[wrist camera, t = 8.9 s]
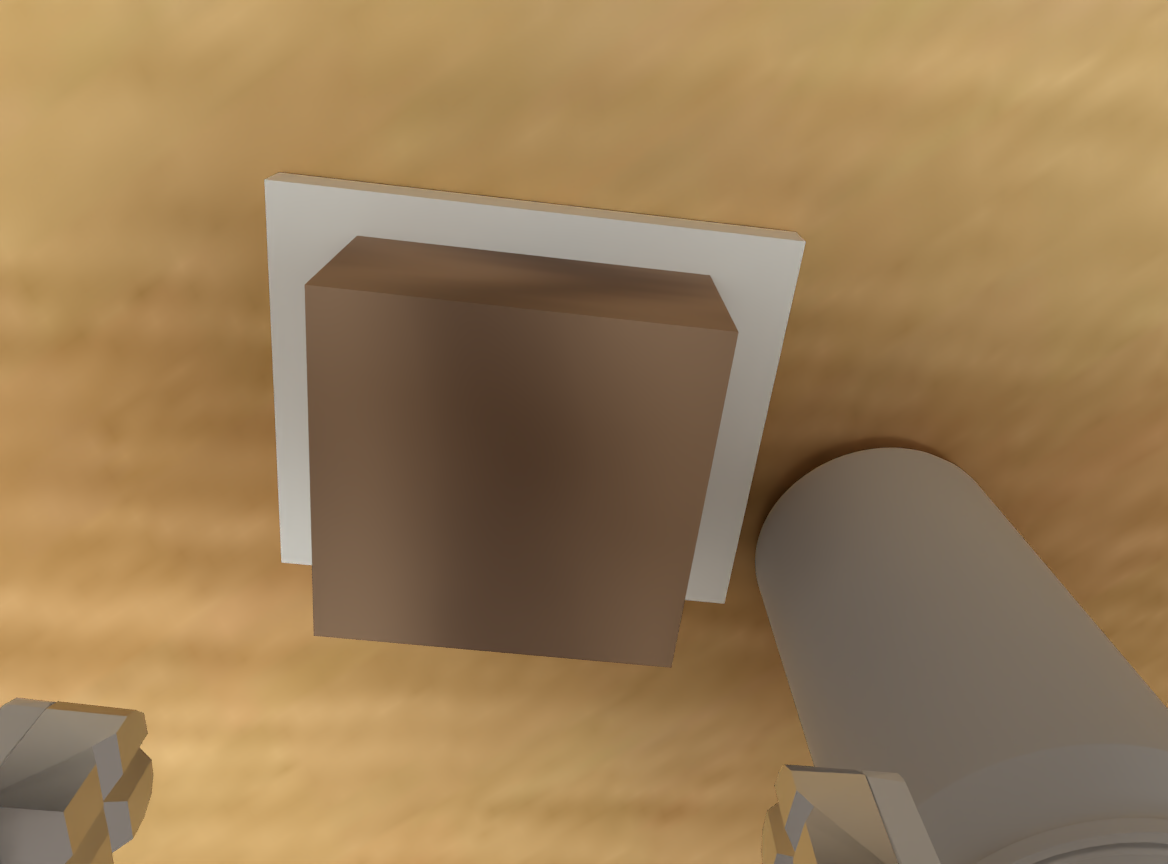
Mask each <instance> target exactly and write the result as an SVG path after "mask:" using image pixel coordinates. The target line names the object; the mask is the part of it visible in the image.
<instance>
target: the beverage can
mask: <svg viewBox="0 0 1168 864" xmlns="http://www.w3.org/2000/svg"><path fill="white" fill-rule="evenodd" d="M755 570H756V577H757V582H758V586H759V589H760V592H761V596H762V599H763V602H764V605H765V609H766V612H767V615H768V618H769V622H770V625H771V628H772V631H773V634H774V638H775V641H776V644H777V647H778V651H779V654H780V657H781V660H782V664H783V667H784V670H785V673H786V676H787V680H788V683H789V686H790V689H791V693H792V696H793V699H794V702H795V706H796V709H797V712H798V715H799V719H800V722H801V725H802V728H803V731H804V735H805V738H806V741H807V744H808V748H809V751H810V754H811V757H812V761H813V764H814V767H825V768H838V769H852V770H857V771H860V770H864V771H877V772H891V773H898V774H899V775H900V776H901V777H902V778H903V779H904V780H905V782H906V785H907V787H908V789H909V791H910V794H911V796H912V798H913V801H914V803H915V805H916V808H917V810H918V812H919V814H920V817H921V819H922V821H923V824H924V826H925V828H926V831H927V833H928V835H929V838H930V840H931V842H932V844H933V847H934V849H935V851H936V854H937V856H938V858H939V861H940V863H941V864H1168V709H1167V708H1166V706H1165V705H1164V704H1163V703H1162V702H1161V700H1160V699H1159V698H1158V697H1157V696H1156V694H1155V693H1154V692H1153V691H1152V690H1151V689H1150V687H1149V686H1148V685H1147V684H1146V683H1145V681H1144V680H1143V679H1142V678H1141V677H1140V676H1139V674H1138V673H1137V672H1136V671H1135V670H1134V668H1133V667H1132V666H1131V665H1130V664H1129V663H1128V661H1127V660H1126V659H1125V658H1124V657H1123V655H1122V654H1121V653H1120V652H1119V651H1118V650H1117V648H1116V647H1115V646H1114V645H1113V644H1112V642H1111V641H1110V640H1109V639H1108V638H1107V637H1106V635H1105V634H1104V633H1103V632H1102V631H1101V629H1100V628H1099V627H1098V626H1097V625H1096V624H1095V622H1094V621H1093V620H1092V619H1091V618H1090V616H1089V615H1088V614H1087V613H1086V612H1085V611H1084V609H1083V608H1082V607H1081V606H1080V605H1079V603H1078V602H1077V601H1076V600H1075V599H1074V598H1073V596H1072V595H1071V594H1070V593H1069V592H1068V590H1067V589H1066V588H1065V587H1064V586H1063V585H1062V583H1061V582H1060V581H1059V580H1058V579H1057V577H1056V576H1055V575H1054V574H1053V573H1052V572H1051V570H1050V569H1049V568H1048V567H1047V566H1046V564H1045V563H1044V562H1043V561H1042V560H1041V559H1040V557H1039V556H1038V555H1037V554H1036V553H1035V551H1034V550H1033V549H1032V548H1031V547H1030V546H1029V544H1028V543H1027V542H1026V541H1025V540H1024V538H1023V537H1022V536H1021V535H1020V534H1019V533H1018V531H1017V530H1016V529H1015V528H1014V527H1013V525H1012V524H1011V523H1010V522H1009V521H1008V520H1007V518H1006V517H1005V516H1004V515H1003V514H1002V512H1001V511H1000V510H999V509H998V508H997V507H996V505H995V504H994V503H993V502H992V501H991V499H990V498H989V497H988V496H987V495H986V494H985V492H984V491H983V490H982V489H981V488H980V486H979V485H978V484H977V483H976V482H975V481H974V480H973V479H972V478H971V477H970V476H969V475H968V474H967V473H966V472H964V471H963V470H962V469H961V468H959V467H958V466H956V465H955V464H953V463H951V462H949V461H946V460H944V459H942V458H939V457H937V456H935V455H932V454H929V453H927V452H923V451H919V450H913V449H906V448H875V449H868V450H862V451H857V452H853V453H850V454H847V455H844V456H841V457H838V458H835V459H833V460H831V461H828V462H826V463H824V464H822V465H820V466H819V467H817V468H815V469H813V470H812V471H810V472H809V473H807V474H806V475H805V476H803V477H802V478H800V479H799V480H798V481H797V482H795V483H794V484H793V485H792V486H791V487H790V488H789V489H788V490H787V491H786V492H785V493H784V494H783V495H782V496H781V497H780V499H779V500H778V501H777V502H776V504H775V505H774V507H773V508H772V509H771V511H770V513H769V514H768V516H767V518H766V520H765V522H764V524H763V526H762V529H761V531H760V535H759V538H758V542H757V546H756V554H755Z"/></svg>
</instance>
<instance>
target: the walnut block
mask: <svg viewBox="0 0 1168 864" xmlns="http://www.w3.org/2000/svg"><path fill="white" fill-rule="evenodd" d="M305 321H306V358H307V396H308V434H309V472H310V509H311V547H312V585H313V622H314V636H323V637H334V638H345V639H356V640H368V641H379V642H390V643H401V644H412V645H424V646H435V647H446V648H457V649H468V650H480V651H491V652H502V653H513V654H525V655H536V656H547V657H558V658H569V659H581V660H592V661H603V662H614V663H625V664H637V665H648V666H659V667H670V668H671V667H672V662H673V657H674V652H675V647H676V642H677V637H678V632H679V627H680V622H681V617H682V612H683V607H684V602H685V597H686V592H687V587H688V582H689V577H690V572H691V567H692V562H693V557H694V552H695V547H696V542H697V537H698V532H699V527H700V522H701V517H702V512H703V507H704V502H705V497H706V492H707V487H708V482H709V477H710V472H711V467H712V462H713V457H714V452H715V447H716V442H717V437H718V433H719V428H720V423H721V418H722V413H723V408H724V403H725V398H726V393H727V388H728V383H729V378H730V373H731V368H732V363H733V358H734V353H735V348H736V343H737V338H738V333H739V332H738V330H737V328H736V326H735V324H734V322H733V320H732V318H731V316H730V314H729V312H728V310H727V308H726V306H725V304H724V302H723V300H722V298H721V296H720V294H719V292H718V290H717V288H716V286H715V284H714V282H713V280H712V278H711V276H710V275H704V274H695V273H686V272H677V271H668V270H659V269H650V268H641V267H632V266H623V265H615V264H606V263H597V262H588V261H579V260H570V259H561V258H552V257H543V256H534V255H525V254H517V253H508V252H499V251H490V250H481V249H472V248H463V247H454V246H445V245H436V244H427V243H419V242H410V241H401V240H392V239H383V238H374V237H365V236H356V237H355V238H354V239H353V240H352V241H351V242H350V243H349V244H347V245H346V246H345V247H344V248H343V249H342V250H341V251H340V252H339V253H338V254H337V255H336V256H335V257H334V258H333V259H331V260H330V261H329V262H328V263H327V264H326V265H325V266H324V267H323V268H322V269H321V270H320V271H319V272H318V273H317V274H315V275H314V276H313V277H312V278H311V279H310V280H309V281H308V282H307V283H306V284H305Z"/></svg>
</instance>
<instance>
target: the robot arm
mask: <svg viewBox="0 0 1168 864" xmlns="http://www.w3.org/2000/svg"><path fill="white" fill-rule="evenodd" d="M147 734H148V731H147V726H146V721H145V715H144V713H142V712H140V711H137V710H131V709H122V708H113V707H104V706H95V705H86V704H77V703H68V702H59V701H58V702H52V701H43V700H34V699H25V698H15V699H13V700H12V701H10V702H8V703H6V704H4V705H3V706H2V707H1V708H0V864H114V862H113V856H112V853H113V852H114V851H116V850H117V849H119V848H120V847H121V846H123V845H124V844H126V843H127V842H129V841H130V840H132V839H133V838H134V836H135V834H136V832H137V830H138V828H139V826H140V825H141V823H142V821H143V819H144V817H145V813H146V810H147V807H148V804H149V800H150V797H151V794H152V784H153V768H152V760H151V759H150V758H149V757H148V756H147V755H146V754H145V753H144V752H143V751H142V750H141V749H140V748H139V747H140V745H141V744H142V742H143V740H144V739H145V737H146V735H147ZM774 786H775V790H776V795H777V799H778V803H776V804H775V805H774V806H773V807H771V808H770V809H769V810H767V814H766V818H765V822H764V826H763V831H762V849H761V853H762V864H941V863H940V861H939V858H938V856H937V854H936V851H935V849H934V847H933V844H932V842H931V840H930V838H929V835H928V833H927V831H926V828H925V826H924V824H923V821H922V819H921V817H920V814H919V812H918V810H917V808H916V805H915V803H914V801H913V798H912V796H911V794H910V791H909V789H908V787H907V785H906V782H905V780H904V779H903V778H902V777H901V776H900V775H899V774H898V773H891V772H877V771H864V770H860V771H857V770H852V769H838V768H825V767H811V766H798V765H783V766H782V768H781V769H780V770H779V772H778V775H777V779H776V782H775V785H774Z"/></svg>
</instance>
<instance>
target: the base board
mask: <svg viewBox="0 0 1168 864" xmlns="http://www.w3.org/2000/svg"><path fill="white" fill-rule="evenodd" d="M264 182H265V204H266V227H267V249H268V271H269V294H270V316H271V338H272V361H273V383H274V406H275V428H276V450H277V473H278V495H279V518H280V540H281V562H283V563H293V564H304V565H312V547H311V509H310V472H309V434H308V396H307V358H306V321H305V284H306V283H307V282H308V281H309V280H310V279H311V278H312V277H313V276H314V275H315V274H317V273H318V272H319V271H320V270H321V269H322V268H323V267H324V266H325V265H326V264H327V263H328V262H329V261H330V260H331V259H333V258H334V257H335V256H336V255H337V254H338V253H339V252H340V251H341V250H342V249H343V248H344V247H345V246H346V245H347V244H349V243H350V242H351V241H352V240H353V239H354V238H355V237H356V236H365V237H374V238H383V239H392V240H401V241H410V242H419V243H427V244H436V245H445V246H454V247H463V248H472V249H481V250H490V251H499V252H508V253H517V254H525V255H534V256H543V257H552V258H561V259H570V260H579V261H588V262H597V263H606V264H615V265H623V266H632V267H641V268H650V269H659V270H668V271H677V272H686V273H695V274H704V275H710V276H711V278H712V280H713V282H714V284H715V286H716V288H717V290H718V292H719V294H720V296H721V298H722V300H723V302H724V304H725V306H726V308H727V310H728V312H729V314H730V316H731V318H732V320H733V322H734V324H735V326H736V328H737V330H738V332H739V333H738V338H737V343H736V348H735V353H734V358H733V363H732V368H731V373H730V378H729V383H728V388H727V393H726V398H725V403H724V408H723V413H722V418H721V423H720V428H719V433H718V437H717V442H716V447H715V452H714V457H713V462H712V467H711V472H710V477H709V482H708V487H707V492H706V497H705V502H704V507H703V512H702V517H701V522H700V527H699V532H698V537H697V542H696V547H695V552H694V557H693V562H692V567H691V572H690V577H689V582H688V587H687V592H686V597H685V600H690V601H701V602H712V603H722V604H724V603H725V598H726V594H727V590H728V585H729V581H730V576H731V572H732V567H733V563H734V558H735V554H736V550H737V545H738V541H739V536H740V532H741V527H742V523H743V518H744V514H745V510H746V505H747V501H748V496H749V492H750V487H751V483H752V478H753V474H754V470H755V465H756V461H757V456H758V452H759V447H760V443H761V438H762V434H763V429H764V425H765V421H766V416H767V412H768V407H769V403H770V398H771V394H772V389H773V385H774V381H775V376H776V372H777V367H778V363H779V358H780V354H781V349H782V345H783V341H784V336H785V332H786V327H787V323H788V318H789V314H790V309H791V305H792V301H793V296H794V292H795V287H796V283H797V278H798V274H799V269H800V265H801V261H802V256H803V252H804V247H805V243H806V241H805V240H804V239H803V238H802V237H801V236H800V235H799V234H797V233H796V232H793V231H784V230H775V229H767V228H758V227H749V226H741V225H732V224H723V223H715V222H706V221H697V220H689V219H680V218H671V217H663V216H654V215H645V214H637V213H628V212H619V211H611V210H602V209H593V208H585V207H576V206H567V205H559V204H550V203H541V202H533V201H524V200H515V199H507V198H498V197H489V196H481V195H472V194H463V193H455V192H446V191H437V190H429V189H420V188H411V187H403V186H394V185H385V184H377V183H368V182H359V181H351V180H342V179H333V178H325V177H316V176H307V175H299V174H290V173H281V172H279V173H277V174H274V175H272V176H270V177H268V178H266V179H264Z"/></svg>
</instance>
